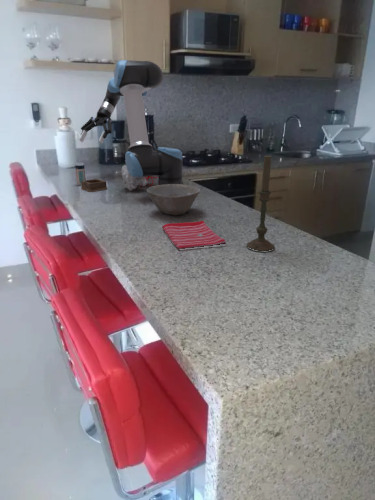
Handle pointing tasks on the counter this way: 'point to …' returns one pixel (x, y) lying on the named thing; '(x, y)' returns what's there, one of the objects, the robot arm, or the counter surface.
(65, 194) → the counter surface
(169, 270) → the counter surface
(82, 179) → the spice jar
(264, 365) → the counter surface
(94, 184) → the walnut can stand
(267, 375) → the counter surface
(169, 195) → the ceramic bowl
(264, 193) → the candlestick holder
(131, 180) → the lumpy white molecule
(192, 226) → the dish towel
